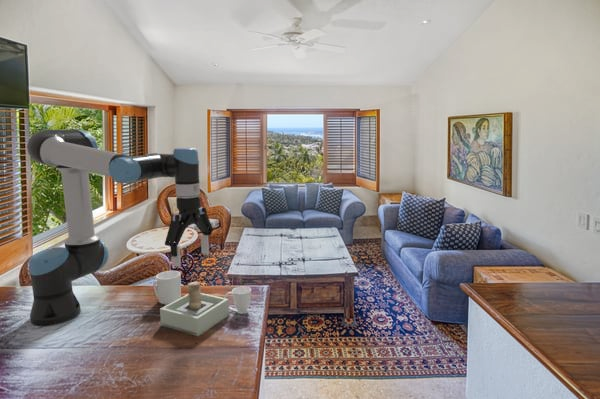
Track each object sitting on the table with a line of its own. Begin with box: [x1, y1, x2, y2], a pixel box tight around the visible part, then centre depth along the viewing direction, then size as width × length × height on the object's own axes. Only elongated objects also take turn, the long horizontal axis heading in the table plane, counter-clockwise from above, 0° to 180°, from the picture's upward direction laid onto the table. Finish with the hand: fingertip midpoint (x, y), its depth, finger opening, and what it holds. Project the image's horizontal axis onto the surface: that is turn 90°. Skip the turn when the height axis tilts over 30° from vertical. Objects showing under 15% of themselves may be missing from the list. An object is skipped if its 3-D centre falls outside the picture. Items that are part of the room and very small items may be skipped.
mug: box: [152, 270, 182, 306], centre depth 149 cm, size 11×9×10 cm
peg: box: [187, 281, 202, 311], centre depth 134 cm, size 4×4×12 cm
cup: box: [223, 285, 252, 315], centre depth 141 cm, size 7×10×8 cm
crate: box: [159, 292, 230, 337], centre depth 135 cm, size 16×16×6 cm
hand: (191, 259), depth 131 cm, fingers open, 13 cm apart
